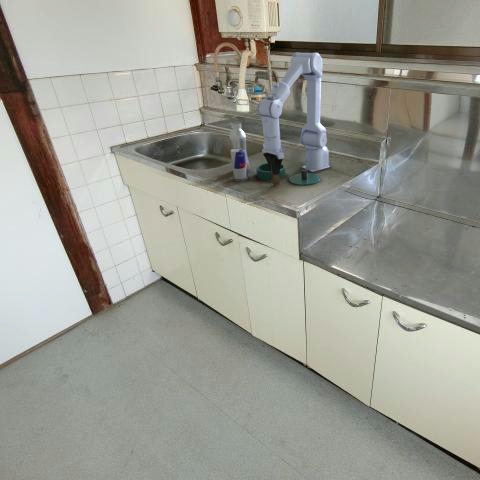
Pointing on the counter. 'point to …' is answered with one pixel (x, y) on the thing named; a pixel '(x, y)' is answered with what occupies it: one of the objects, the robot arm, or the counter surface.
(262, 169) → the tin
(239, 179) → the energy drink
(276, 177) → the stick
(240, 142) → the plastic bottle
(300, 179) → the tin lid
